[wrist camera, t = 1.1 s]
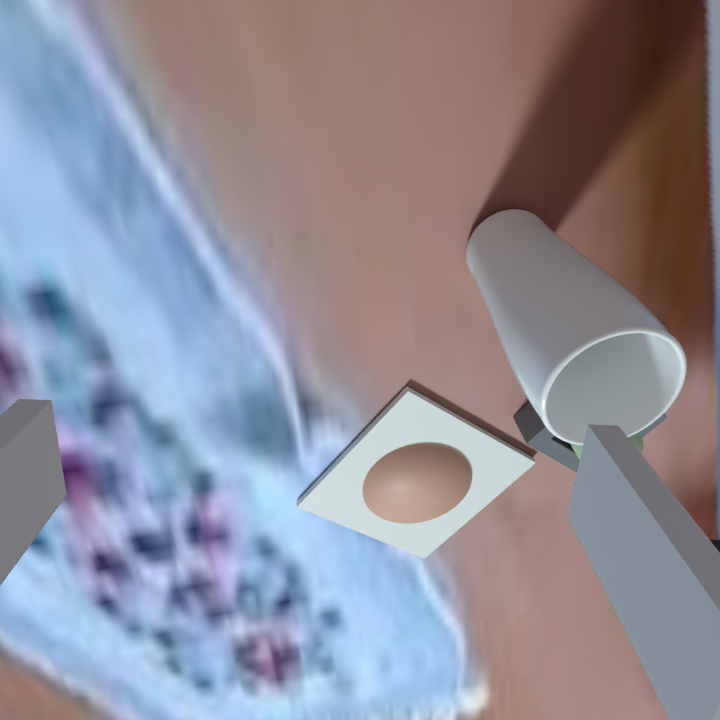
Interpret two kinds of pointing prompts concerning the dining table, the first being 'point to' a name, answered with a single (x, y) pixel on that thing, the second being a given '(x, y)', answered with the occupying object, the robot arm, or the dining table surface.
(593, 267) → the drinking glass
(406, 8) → the dining table surface
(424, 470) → the white flat square plate
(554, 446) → the button housing
